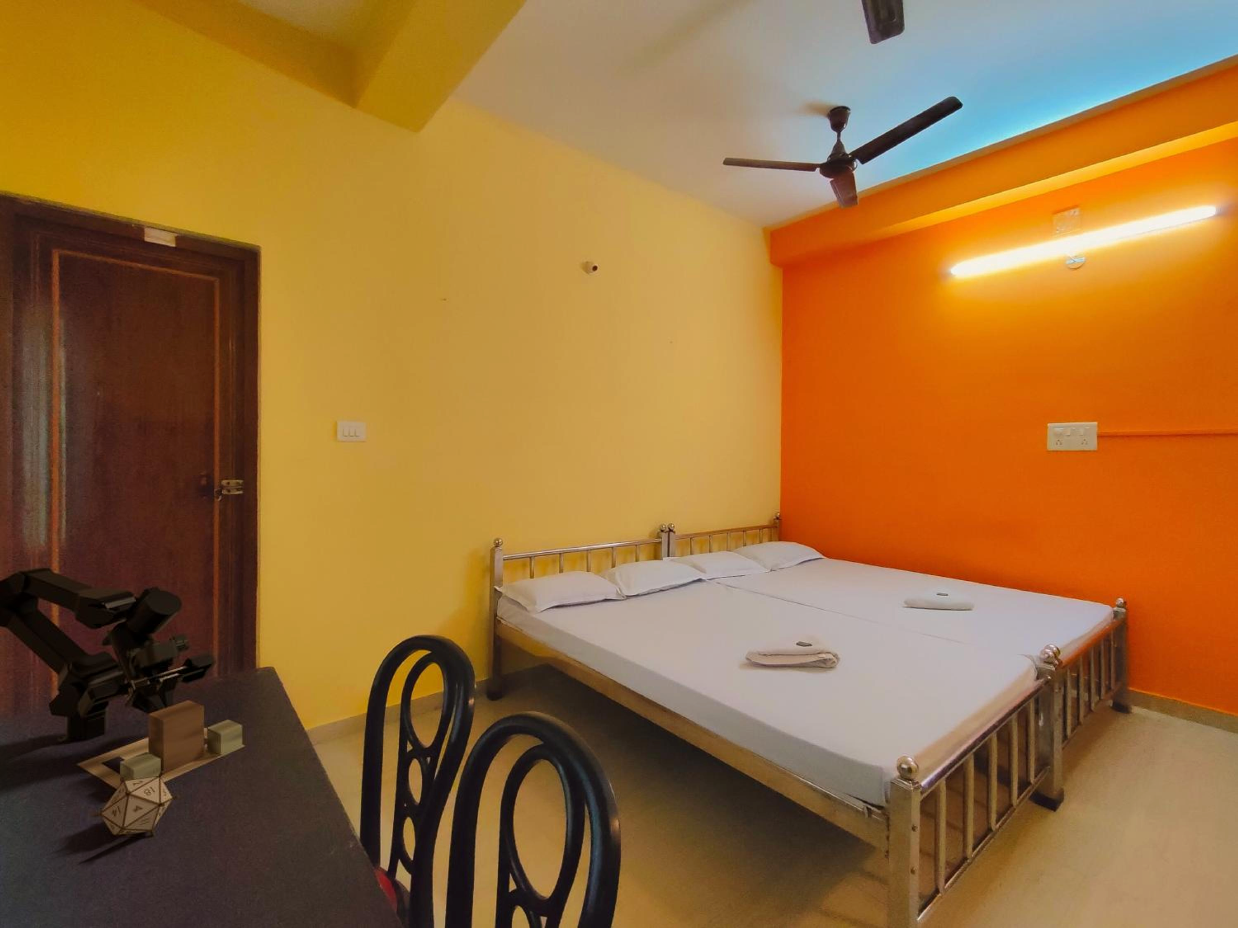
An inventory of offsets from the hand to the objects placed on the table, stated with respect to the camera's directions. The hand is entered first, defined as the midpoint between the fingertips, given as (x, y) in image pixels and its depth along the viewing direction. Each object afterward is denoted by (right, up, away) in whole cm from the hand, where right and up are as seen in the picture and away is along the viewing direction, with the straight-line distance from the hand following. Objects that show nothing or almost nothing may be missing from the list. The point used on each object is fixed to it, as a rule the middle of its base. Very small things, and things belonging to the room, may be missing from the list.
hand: (169, 722), depth 97 cm
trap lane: (-2, -7, +1) cm, 7 cm away
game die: (+9, -8, -17) cm, 21 cm away
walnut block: (+2, -6, -1) cm, 7 cm away
